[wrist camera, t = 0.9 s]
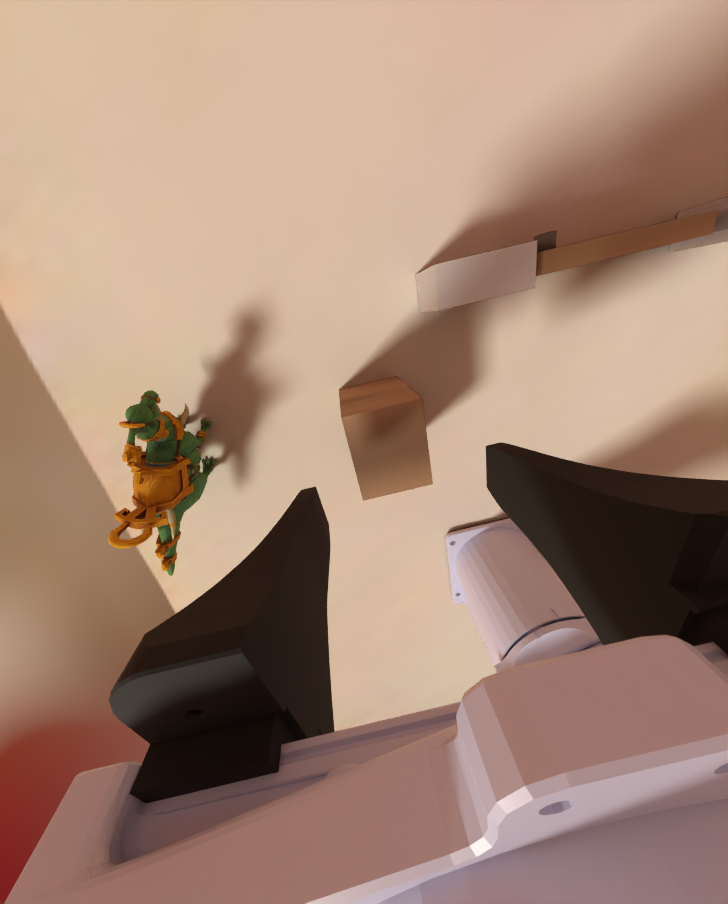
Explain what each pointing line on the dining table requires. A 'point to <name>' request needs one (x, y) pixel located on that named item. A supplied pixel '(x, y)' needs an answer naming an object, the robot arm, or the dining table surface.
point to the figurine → (161, 476)
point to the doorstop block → (386, 436)
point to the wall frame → (520, 268)
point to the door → (620, 242)
